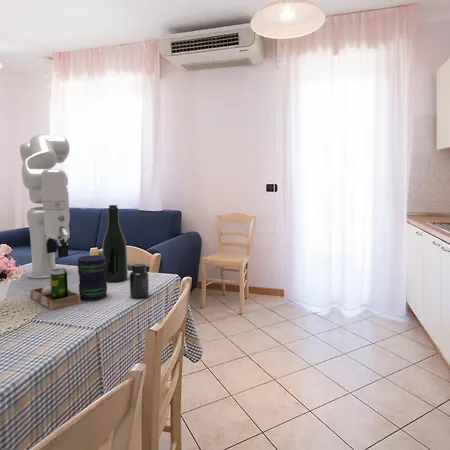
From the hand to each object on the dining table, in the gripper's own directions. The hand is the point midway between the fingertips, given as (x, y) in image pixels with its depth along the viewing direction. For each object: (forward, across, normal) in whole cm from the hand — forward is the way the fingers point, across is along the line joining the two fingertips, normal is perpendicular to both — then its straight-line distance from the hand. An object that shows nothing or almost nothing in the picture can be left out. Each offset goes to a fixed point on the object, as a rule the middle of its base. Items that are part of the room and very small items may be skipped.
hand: (57, 254), depth 126 cm
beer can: (+17, -1, 0) cm, 17 cm away
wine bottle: (+18, +14, -30) cm, 37 cm away
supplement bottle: (+17, -14, -24) cm, 33 cm away
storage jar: (+18, -3, -11) cm, 21 cm away
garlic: (+18, +8, 0) cm, 20 cm away
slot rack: (+18, +4, 0) cm, 18 cm away
